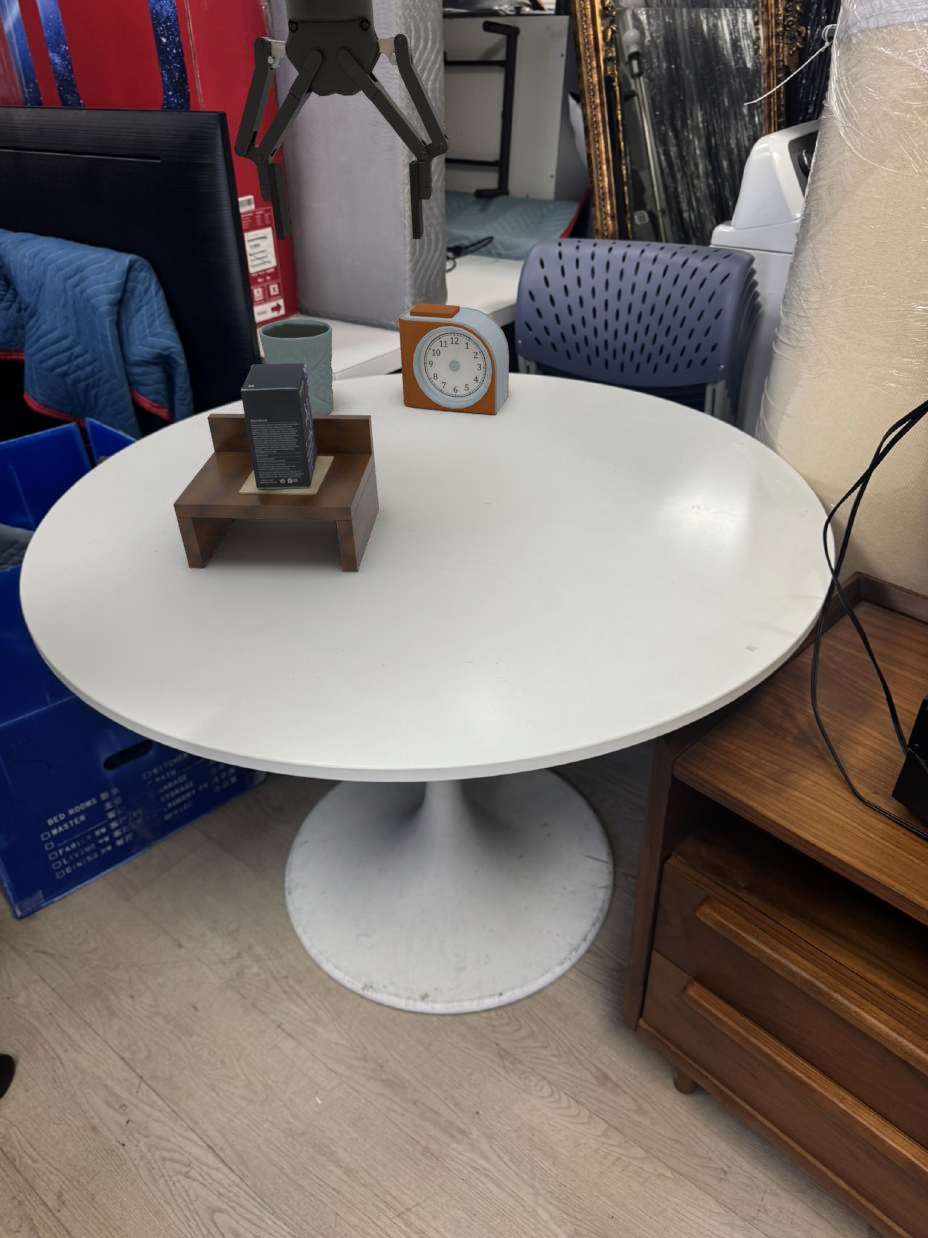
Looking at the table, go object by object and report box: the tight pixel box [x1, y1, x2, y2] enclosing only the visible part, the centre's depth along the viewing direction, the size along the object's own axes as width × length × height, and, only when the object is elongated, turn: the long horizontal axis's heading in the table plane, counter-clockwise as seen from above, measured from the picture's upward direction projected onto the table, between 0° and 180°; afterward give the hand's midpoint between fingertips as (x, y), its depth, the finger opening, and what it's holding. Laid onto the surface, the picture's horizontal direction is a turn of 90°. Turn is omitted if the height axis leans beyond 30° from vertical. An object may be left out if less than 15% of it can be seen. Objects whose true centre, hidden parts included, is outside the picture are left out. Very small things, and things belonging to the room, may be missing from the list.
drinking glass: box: [258, 318, 334, 415], centre depth 119 cm, size 10×10×12 cm
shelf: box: [173, 413, 380, 573], centre depth 88 cm, size 18×14×12 cm
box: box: [240, 363, 317, 489], centre depth 83 cm, size 8×6×11 cm
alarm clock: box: [398, 303, 510, 416], centre depth 120 cm, size 15×8×14 cm, turn 74°
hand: (350, 237), depth 82 cm, fingers open, 13 cm apart
